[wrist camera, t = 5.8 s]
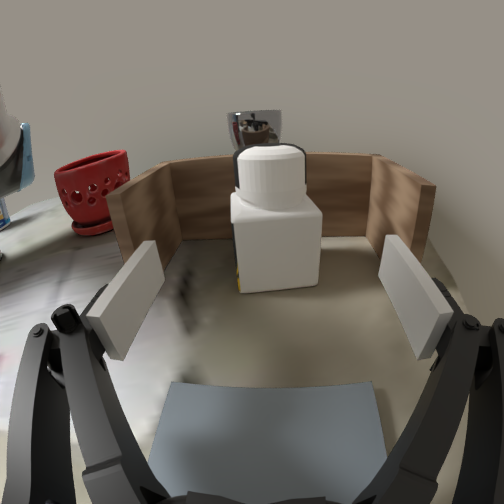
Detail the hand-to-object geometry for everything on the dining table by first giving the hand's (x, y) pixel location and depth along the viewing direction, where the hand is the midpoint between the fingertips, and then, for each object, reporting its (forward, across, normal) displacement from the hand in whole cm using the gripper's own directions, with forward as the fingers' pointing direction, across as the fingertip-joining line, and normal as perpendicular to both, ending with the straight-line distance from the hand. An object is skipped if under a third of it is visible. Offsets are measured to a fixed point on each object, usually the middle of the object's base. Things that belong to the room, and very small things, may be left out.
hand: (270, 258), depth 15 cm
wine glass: (+28, -2, -7) cm, 29 cm away
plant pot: (+24, -29, -7) cm, 38 cm away
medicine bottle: (+10, 0, -7) cm, 12 cm away
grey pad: (-10, 0, -7) cm, 13 cm away
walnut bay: (+12, 0, -7) cm, 14 cm away
